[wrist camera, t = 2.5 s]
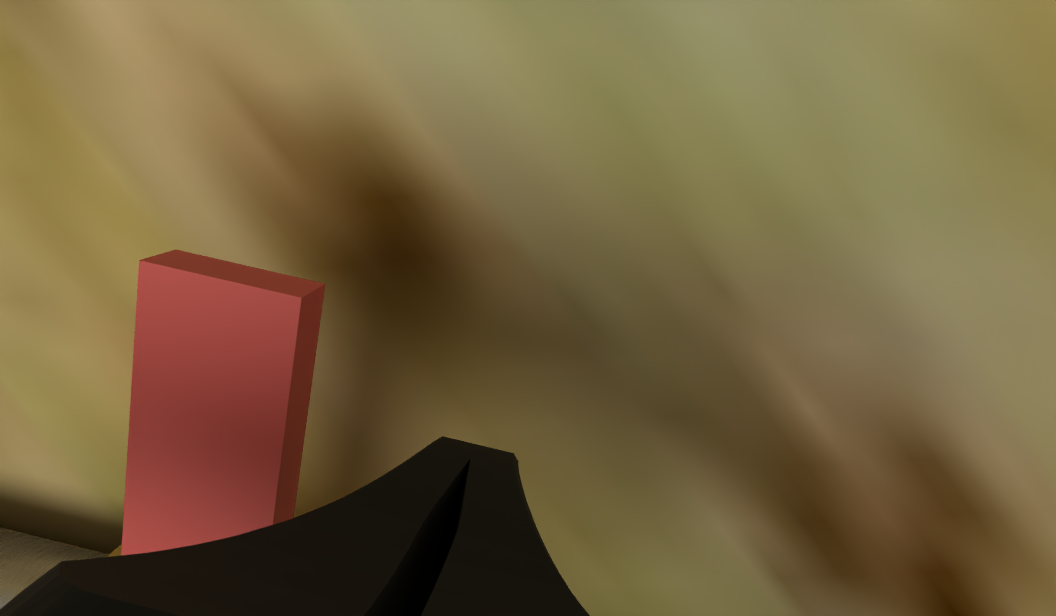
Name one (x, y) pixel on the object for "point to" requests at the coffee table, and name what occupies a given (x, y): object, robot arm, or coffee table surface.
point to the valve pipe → (34, 560)
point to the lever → (216, 399)
